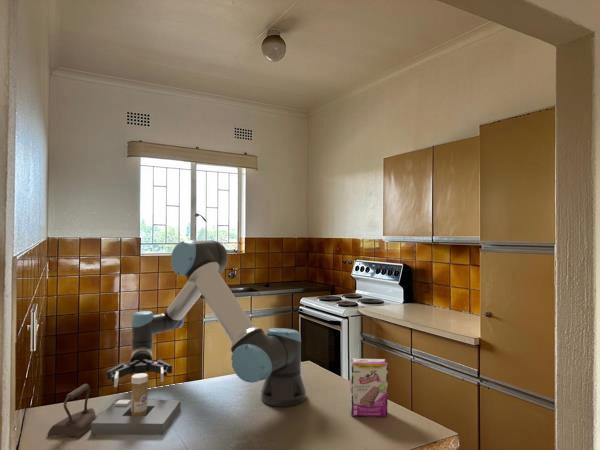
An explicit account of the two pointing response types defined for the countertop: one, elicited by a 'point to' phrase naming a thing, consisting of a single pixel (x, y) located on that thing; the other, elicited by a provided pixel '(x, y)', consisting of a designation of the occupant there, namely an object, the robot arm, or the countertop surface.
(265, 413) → the countertop surface
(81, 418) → the clothes iron
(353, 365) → the candy bar box
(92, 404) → the countertop surface
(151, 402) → the socket plate
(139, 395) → the sprinkles bottle
